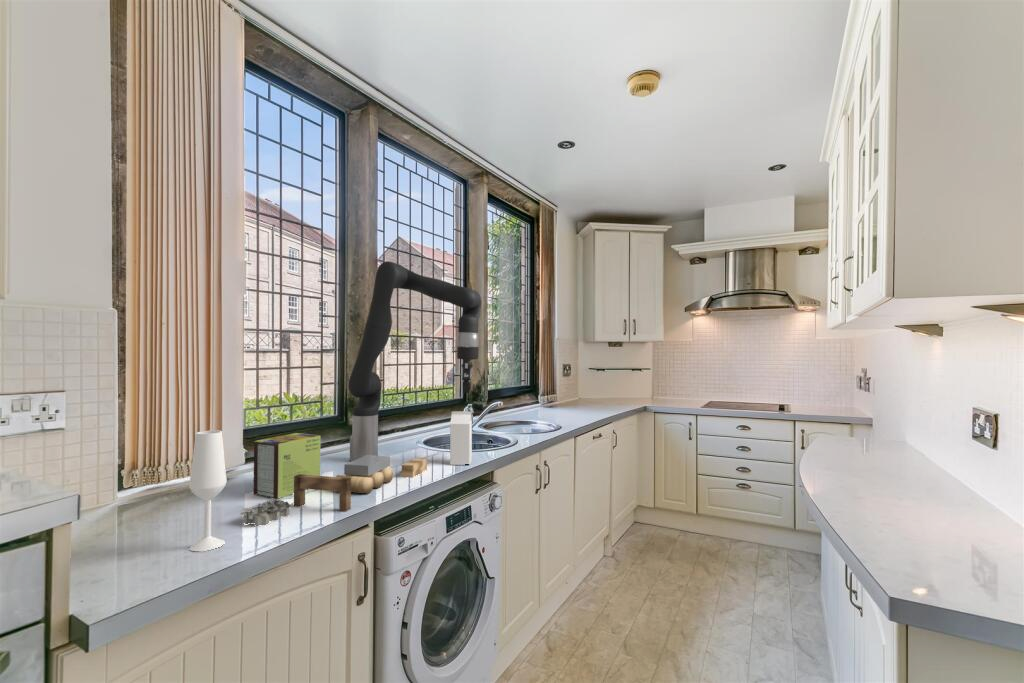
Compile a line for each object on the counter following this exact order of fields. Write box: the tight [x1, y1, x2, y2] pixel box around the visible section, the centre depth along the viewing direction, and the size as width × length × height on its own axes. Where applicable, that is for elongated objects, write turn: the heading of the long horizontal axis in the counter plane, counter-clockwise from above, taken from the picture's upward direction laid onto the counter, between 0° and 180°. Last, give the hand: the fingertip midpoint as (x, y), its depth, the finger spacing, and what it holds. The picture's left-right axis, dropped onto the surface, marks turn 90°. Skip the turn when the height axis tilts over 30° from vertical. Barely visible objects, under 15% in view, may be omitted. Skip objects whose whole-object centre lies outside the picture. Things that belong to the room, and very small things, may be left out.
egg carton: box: [239, 498, 294, 527], centre depth 118 cm, size 11×8×4 cm
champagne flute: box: [188, 429, 227, 552], centre depth 102 cm, size 7×7×24 cm
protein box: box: [252, 432, 321, 500], centre depth 143 cm, size 10×15×16 cm
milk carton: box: [449, 410, 473, 466], centre depth 177 cm, size 7×7×19 cm
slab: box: [343, 455, 391, 476], centre depth 148 cm, size 8×13×3 cm, turn 166°
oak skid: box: [401, 457, 428, 478], centre depth 162 cm, size 11×4×4 cm, turn 165°
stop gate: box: [293, 474, 352, 512], centre depth 127 cm, size 16×2×8 cm, turn 76°
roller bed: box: [335, 467, 394, 494], centre depth 146 cm, size 11×16×4 cm, turn 166°
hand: (466, 391), depth 169 cm, fingers open, 8 cm apart
